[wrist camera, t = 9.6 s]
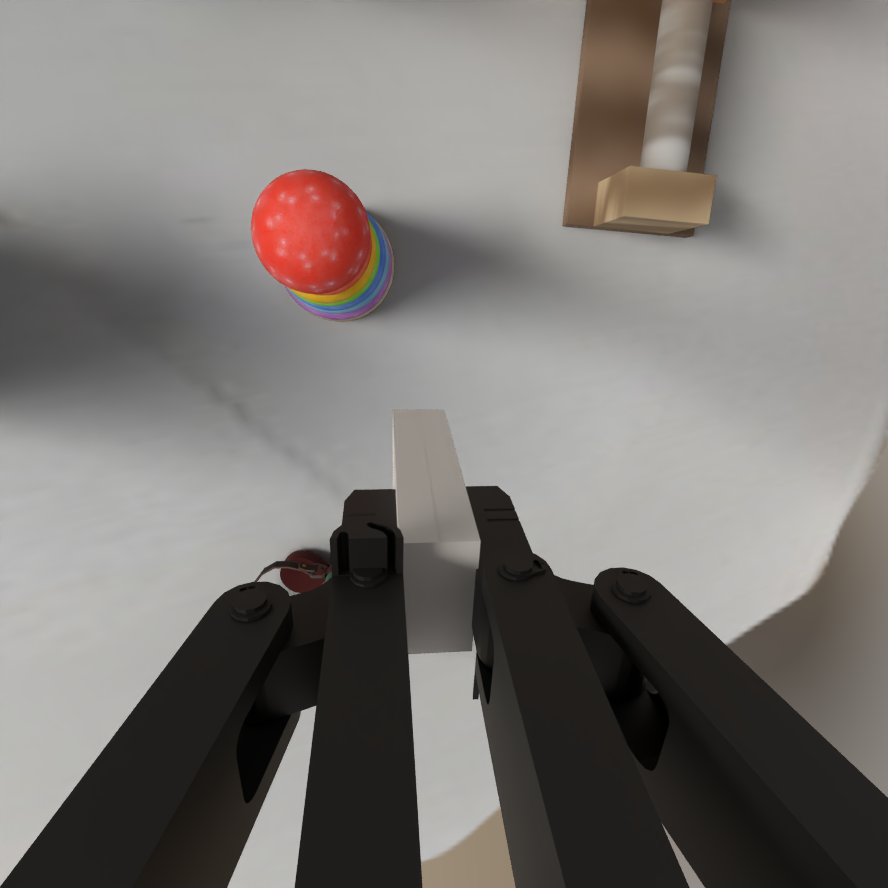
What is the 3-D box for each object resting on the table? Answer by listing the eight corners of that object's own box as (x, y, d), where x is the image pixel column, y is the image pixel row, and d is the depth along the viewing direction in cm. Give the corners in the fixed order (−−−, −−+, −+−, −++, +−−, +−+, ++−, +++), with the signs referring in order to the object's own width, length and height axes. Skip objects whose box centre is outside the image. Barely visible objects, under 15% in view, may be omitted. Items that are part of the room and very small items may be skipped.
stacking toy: (380, 195, 39) (395, 102, 21) (403, 309, 41) (434, 313, 23) (268, 215, 39) (185, 137, 21) (297, 330, 41) (245, 351, 23)
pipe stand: (685, 237, 43) (737, 226, 37) (562, 226, 42) (595, 212, 36) (750, -176, 37) (823, -267, 31) (608, -207, 35) (657, -308, 30)
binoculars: (211, 612, 35) (371, 608, 35) (259, 542, 45) (383, 540, 45) (225, 733, 37) (376, 728, 37) (268, 640, 47) (386, 637, 47)
